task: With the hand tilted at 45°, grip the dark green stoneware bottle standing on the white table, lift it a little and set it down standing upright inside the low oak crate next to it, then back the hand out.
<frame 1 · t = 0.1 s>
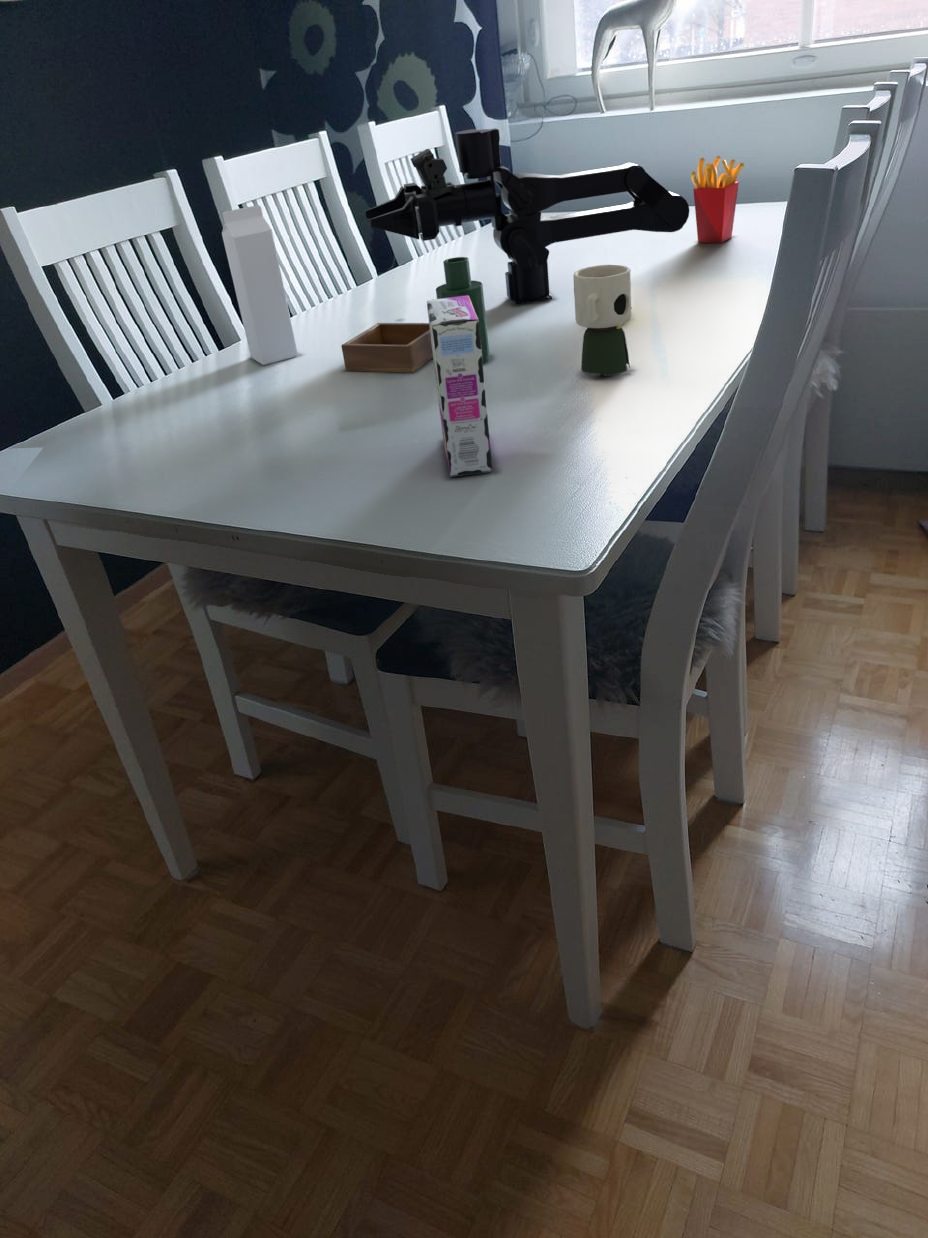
hand: (367, 218, 151), 17 cm above the table, tool horizontal, fingers open, 9 cm apart
bottle: (467, 360, 136), on the table
milk: (274, 357, 150), on the table
french fries: (716, 241, 183), on the table
lemon: (618, 321, 145), on the table
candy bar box: (468, 458, 106), on the table
crate: (396, 359, 141), on the table
character mug: (605, 374, 125), on the table
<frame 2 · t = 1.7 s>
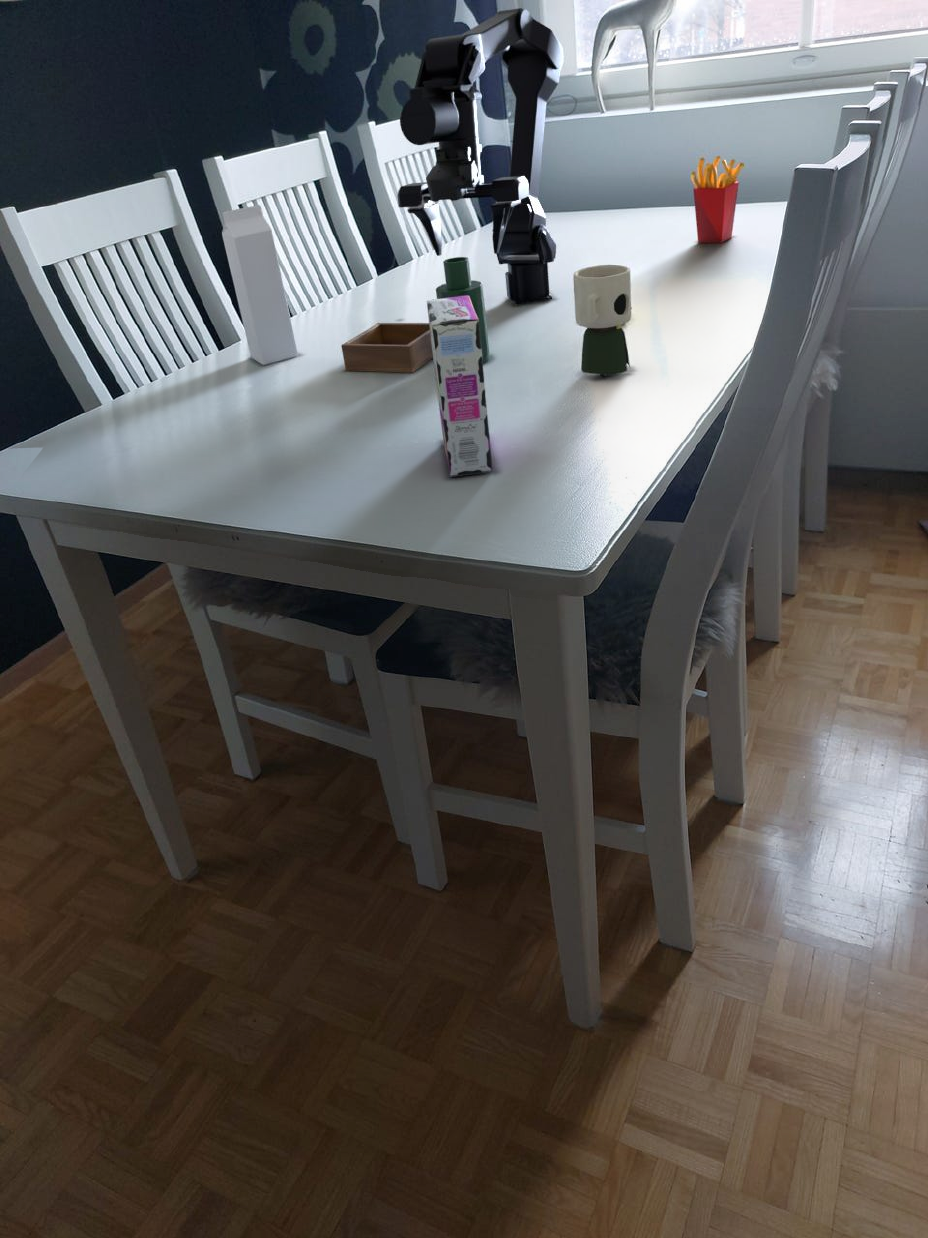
hand: (467, 254, 142), 12 cm above the table, tool pointing down, fingers open, 9 cm apart
nothing on the table moved.
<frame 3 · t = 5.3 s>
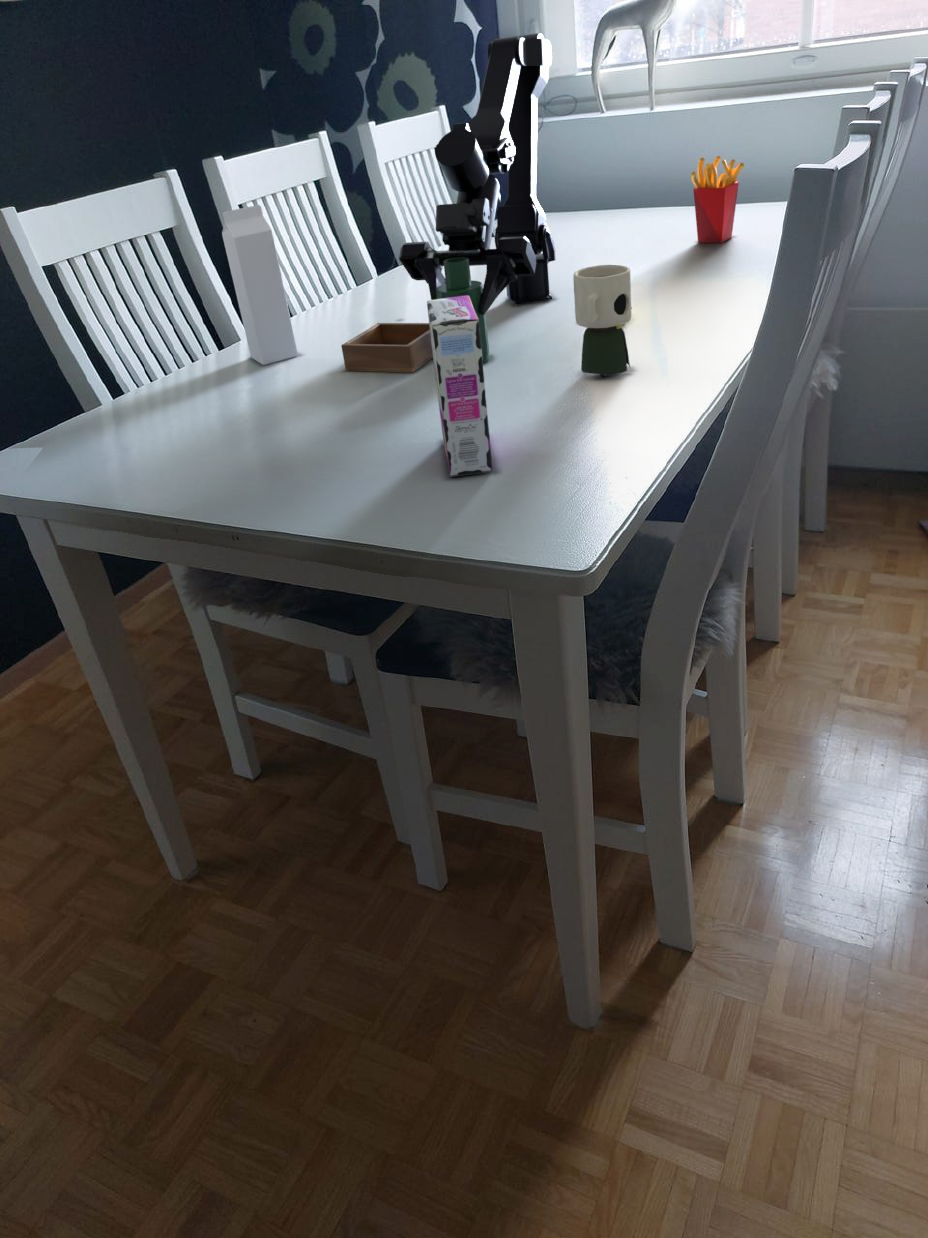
hand: (458, 313, 131), 7 cm above the table, tool tilted 45°, fingers closed on bottle, 6 cm apart
bottle: (467, 361, 136), on the table, touching gripper
everything else where it was.
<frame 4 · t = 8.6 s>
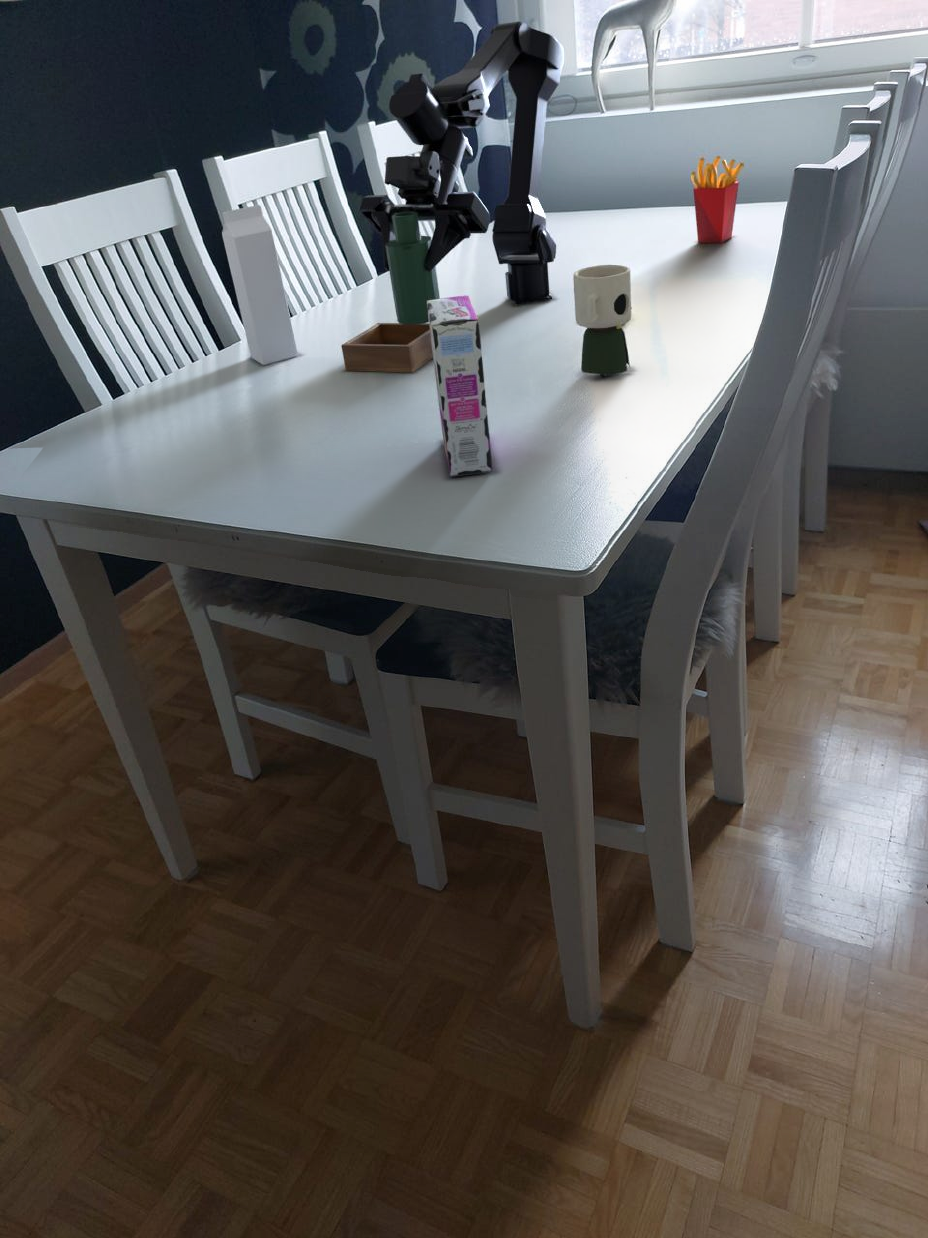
hand: (406, 269, 130), 13 cm above the table, tool tilted 45°, fingers closed on bottle, 6 cm apart
bottle: (419, 317, 135), point 6 cm above the table, touching gripper
everything else where it was.
when the fingers open (8 cm above the table, at t = 11.7 s): bottle stays where it is, resting on crate.
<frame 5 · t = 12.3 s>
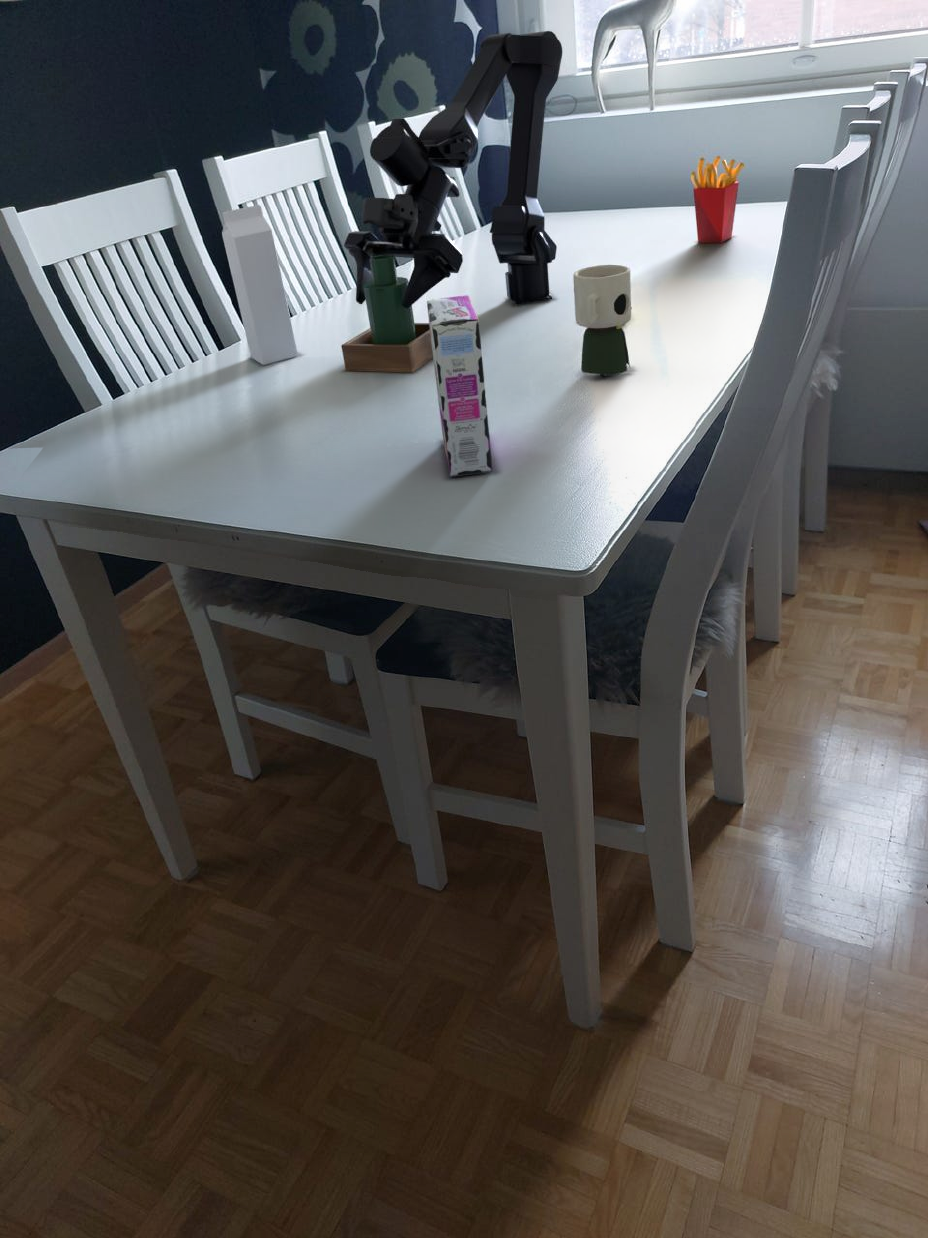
hand: (381, 304, 135), 8 cm above the table, tool tilted 45°, fingers open, 9 cm apart
bottle: (396, 355, 141), point 1 cm above the table, touching crate
everything else where it was.
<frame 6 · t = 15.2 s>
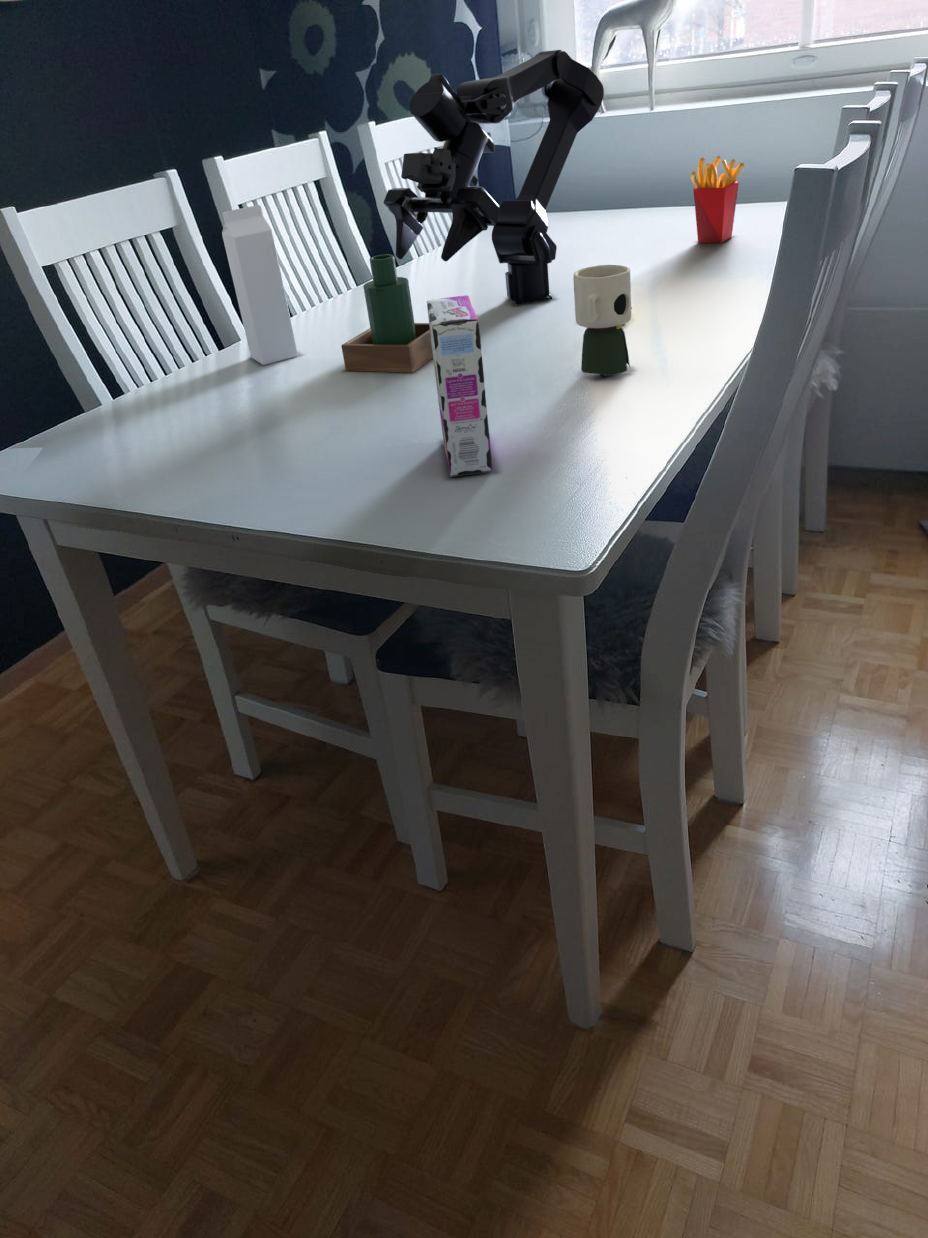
hand: (420, 258, 140), 12 cm above the table, tool tilted 45°, fingers open, 9 cm apart
nothing on the table moved.
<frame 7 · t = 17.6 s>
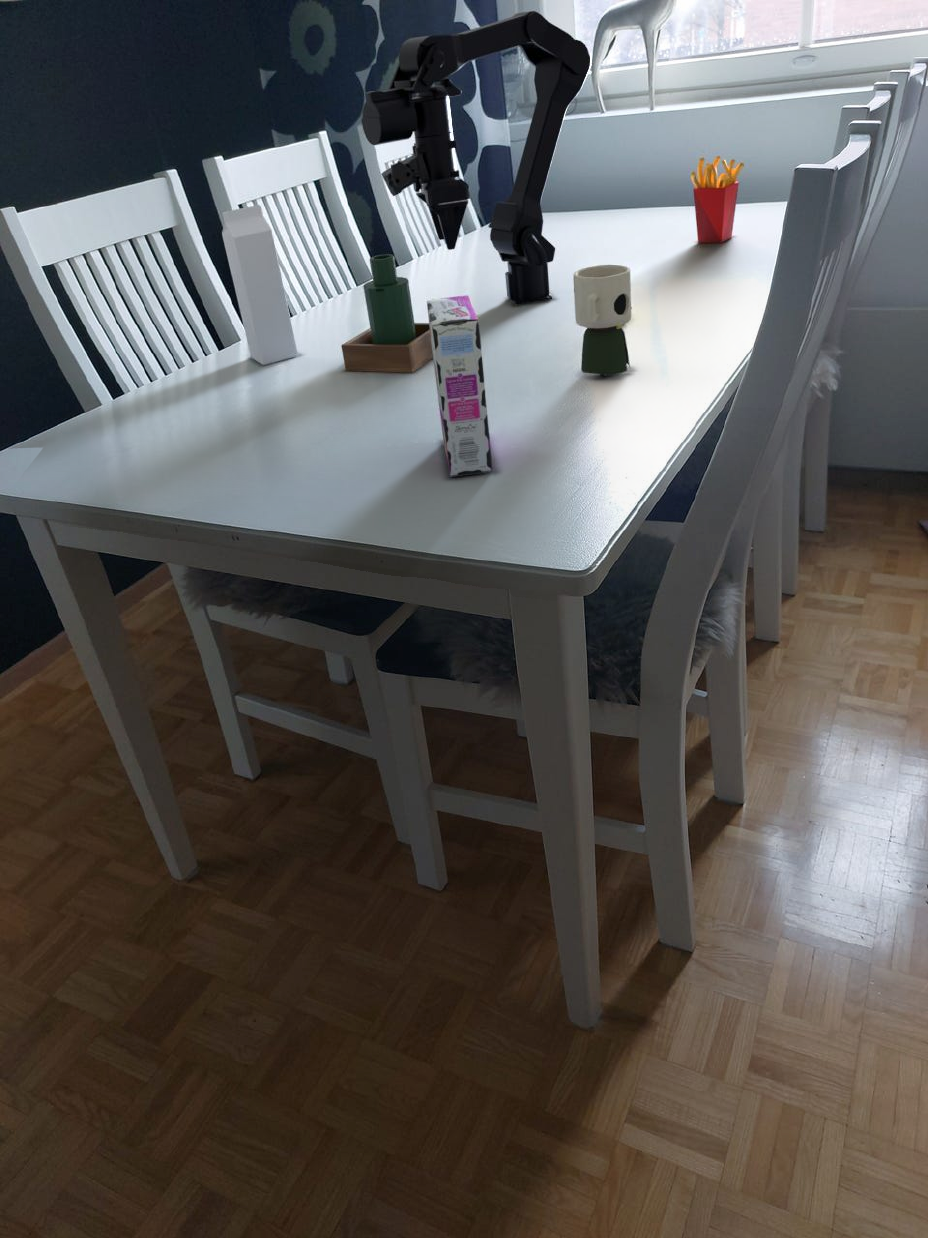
hand: (446, 244, 149), 12 cm above the table, tool pointing down, fingers open, 9 cm apart
nothing on the table moved.
at the end: bottle 0.1 cm off-centre in the crate, point 0.6 cm above the crate's base; bottle tilted 0°; the gripper is holding nothing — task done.
